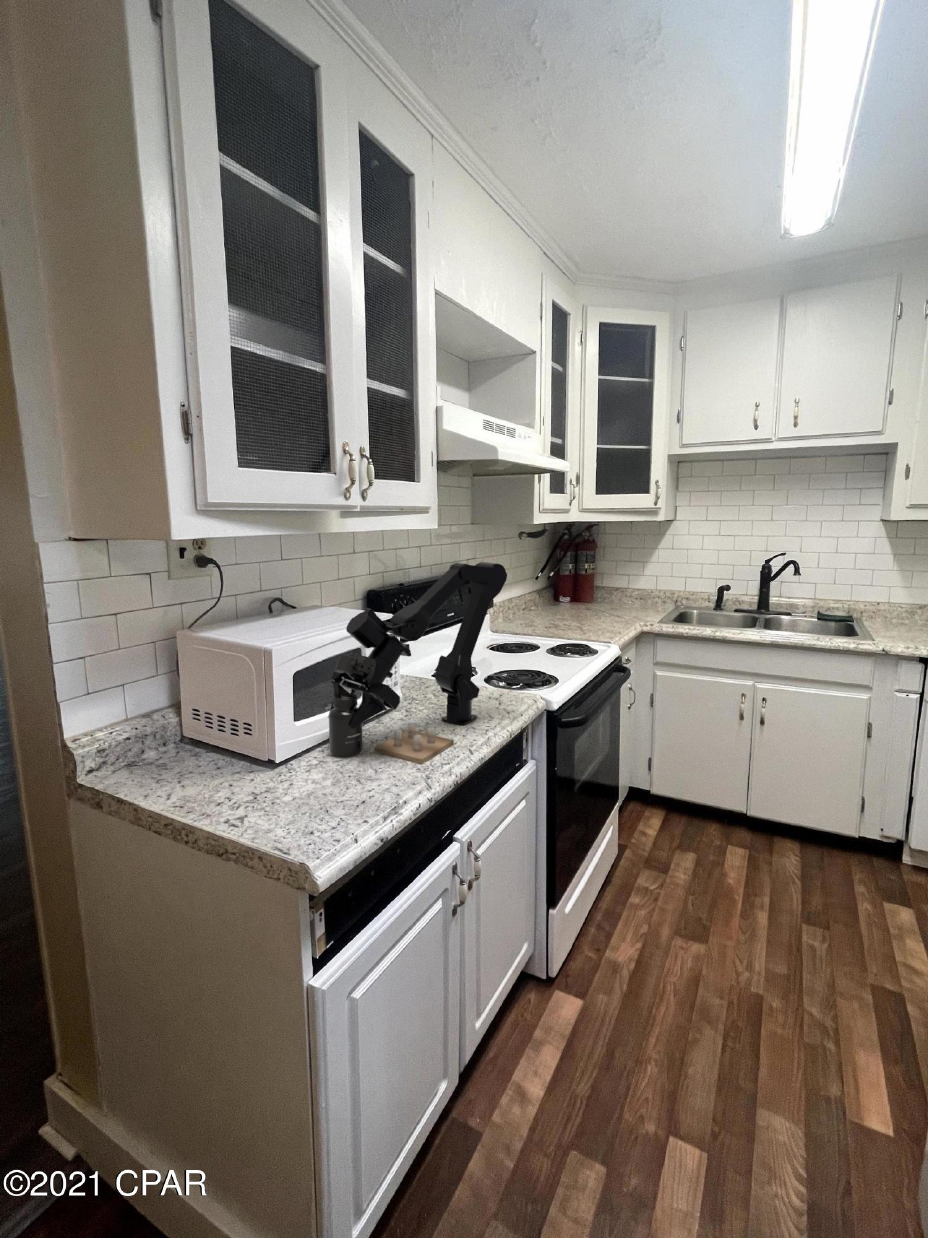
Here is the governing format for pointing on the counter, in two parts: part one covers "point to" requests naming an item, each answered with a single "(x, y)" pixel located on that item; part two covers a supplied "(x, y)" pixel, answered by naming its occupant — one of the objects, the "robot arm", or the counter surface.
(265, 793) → the counter surface
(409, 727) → the peg stand
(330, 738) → the supplement bottle
